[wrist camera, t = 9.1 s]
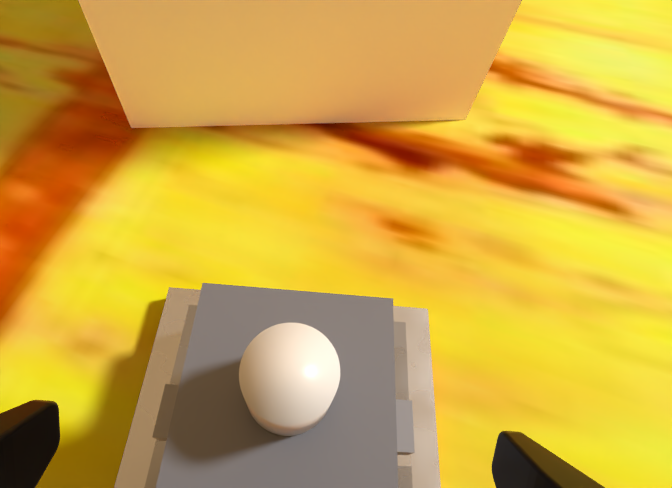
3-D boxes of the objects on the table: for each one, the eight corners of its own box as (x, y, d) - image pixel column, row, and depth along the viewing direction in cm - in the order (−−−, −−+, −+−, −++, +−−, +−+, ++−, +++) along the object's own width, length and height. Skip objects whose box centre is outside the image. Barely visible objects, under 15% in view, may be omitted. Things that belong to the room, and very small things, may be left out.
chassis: (442, 644, 15) (483, 680, 12) (84, 632, 14) (29, 668, 11) (421, 316, 21) (444, 286, 18) (174, 296, 20) (154, 261, 17)
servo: (379, 512, 16) (506, 531, 7) (180, 502, 15) (26, 509, 6) (378, 386, 18) (471, 275, 9) (205, 375, 17) (122, 244, 8)
